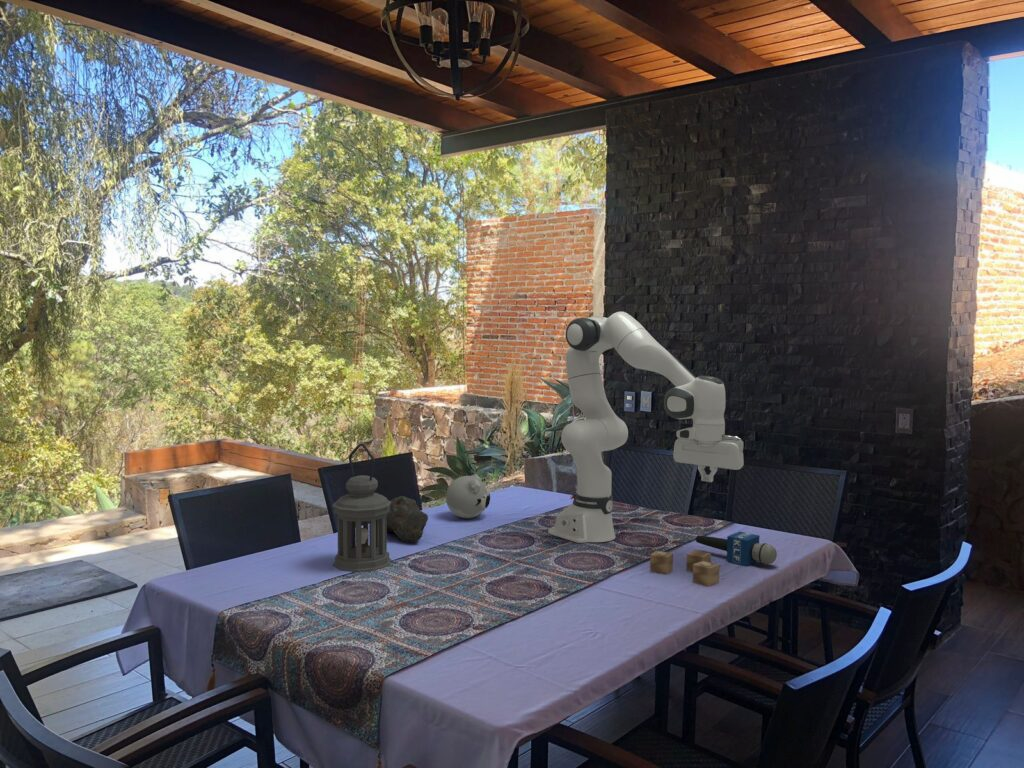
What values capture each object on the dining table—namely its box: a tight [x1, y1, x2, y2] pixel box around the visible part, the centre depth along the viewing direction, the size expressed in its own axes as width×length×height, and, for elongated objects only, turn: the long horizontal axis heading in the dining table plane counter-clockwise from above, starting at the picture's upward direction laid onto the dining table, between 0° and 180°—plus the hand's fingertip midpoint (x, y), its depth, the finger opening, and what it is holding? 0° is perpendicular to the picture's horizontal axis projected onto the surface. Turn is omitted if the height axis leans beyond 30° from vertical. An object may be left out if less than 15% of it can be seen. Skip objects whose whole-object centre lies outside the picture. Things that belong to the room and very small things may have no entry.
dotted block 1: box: [649, 550, 674, 575], centre depth 228 cm, size 5×5×5 cm
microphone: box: [695, 531, 778, 567], centre depth 239 cm, size 8×8×25 cm
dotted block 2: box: [692, 561, 720, 587], centre depth 218 cm, size 5×5×5 cm
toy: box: [445, 473, 491, 519], centre depth 285 cm, size 15×16×15 cm
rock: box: [386, 495, 429, 543], centre depth 263 cm, size 29×14×15 cm
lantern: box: [331, 443, 392, 573], centre depth 231 cm, size 17×17×35 cm
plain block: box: [686, 550, 712, 573], centre depth 228 cm, size 5×5×5 cm
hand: (707, 481), depth 229 cm, fingers closed
